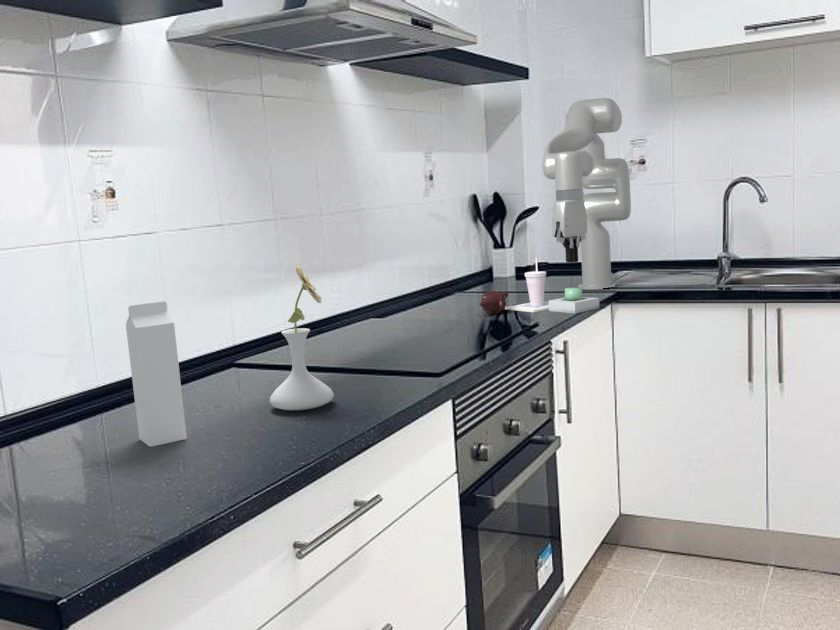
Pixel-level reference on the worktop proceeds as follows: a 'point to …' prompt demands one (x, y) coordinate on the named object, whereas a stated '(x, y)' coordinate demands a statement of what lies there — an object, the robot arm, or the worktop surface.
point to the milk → (155, 374)
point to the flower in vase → (300, 366)
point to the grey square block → (574, 305)
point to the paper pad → (529, 307)
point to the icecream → (494, 302)
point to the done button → (573, 294)
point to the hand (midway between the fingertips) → (572, 261)
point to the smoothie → (536, 286)
